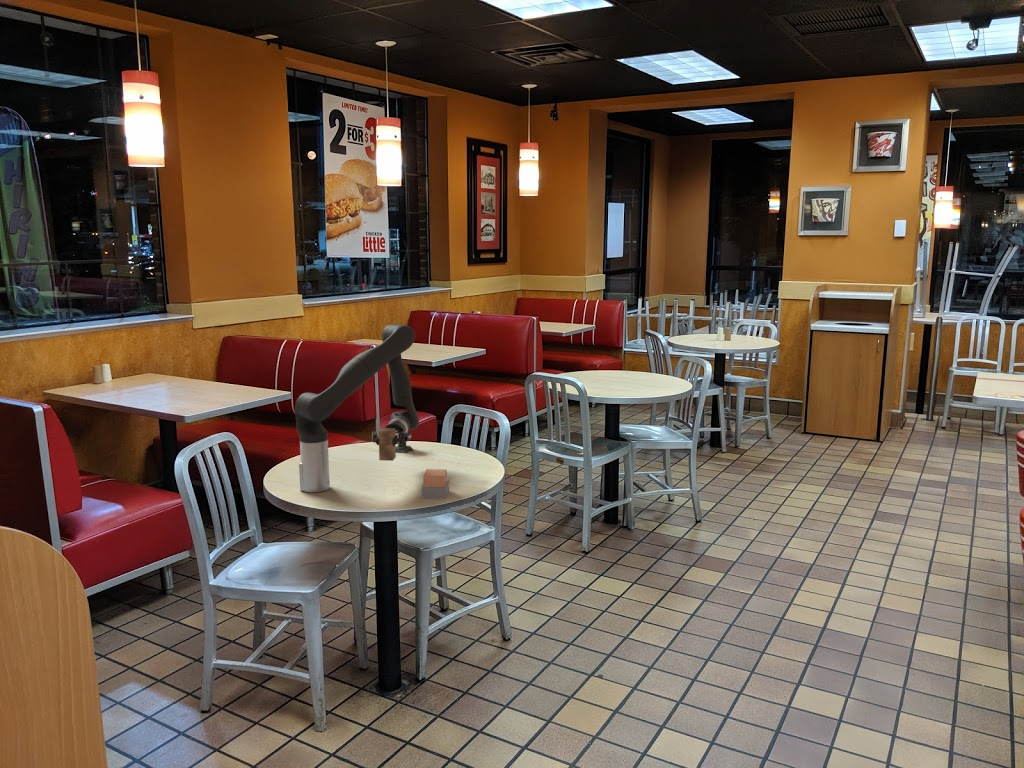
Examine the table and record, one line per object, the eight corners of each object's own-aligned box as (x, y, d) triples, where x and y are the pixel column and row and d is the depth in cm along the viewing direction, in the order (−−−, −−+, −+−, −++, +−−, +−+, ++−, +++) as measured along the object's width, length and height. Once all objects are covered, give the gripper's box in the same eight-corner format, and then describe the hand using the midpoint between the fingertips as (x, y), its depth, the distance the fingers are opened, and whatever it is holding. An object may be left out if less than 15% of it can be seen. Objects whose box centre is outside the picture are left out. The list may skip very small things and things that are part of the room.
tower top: (423, 487, 255) (423, 475, 254) (426, 480, 262) (426, 469, 261) (444, 487, 255) (444, 475, 254) (446, 480, 262) (446, 469, 261)
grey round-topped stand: (394, 446, 320) (393, 411, 317) (416, 447, 318) (416, 412, 316) (387, 452, 312) (386, 416, 309) (410, 453, 310) (409, 417, 307)
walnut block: (379, 460, 256) (378, 431, 254) (382, 456, 261) (381, 427, 259) (393, 460, 256) (392, 431, 254) (395, 456, 261) (395, 428, 259)
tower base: (421, 499, 255) (421, 487, 255) (425, 491, 263) (425, 480, 263) (445, 499, 255) (445, 487, 254) (448, 491, 263) (448, 480, 262)
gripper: (375, 419, 271) (364, 430, 254) (415, 420, 270) (407, 431, 254) (375, 440, 272) (364, 453, 256) (416, 441, 272) (407, 454, 255)
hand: (385, 442), depth 255 cm, fingers closed on walnut block, 4 cm apart
